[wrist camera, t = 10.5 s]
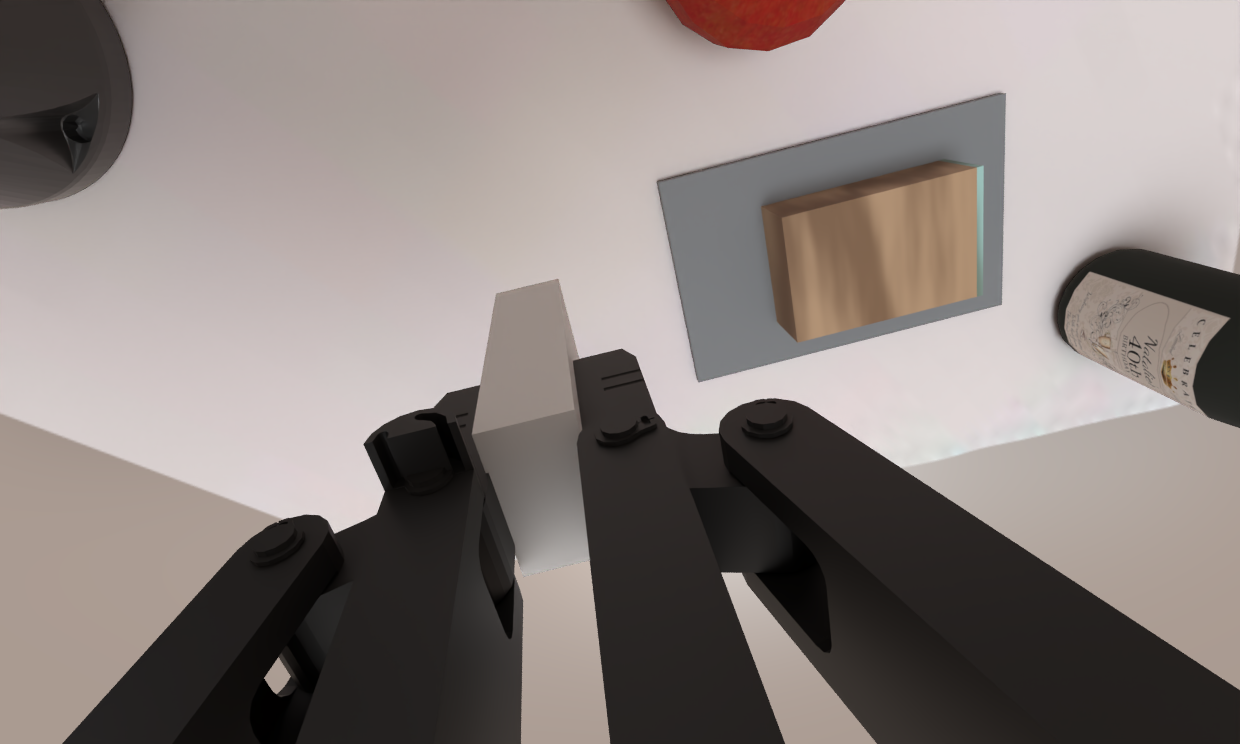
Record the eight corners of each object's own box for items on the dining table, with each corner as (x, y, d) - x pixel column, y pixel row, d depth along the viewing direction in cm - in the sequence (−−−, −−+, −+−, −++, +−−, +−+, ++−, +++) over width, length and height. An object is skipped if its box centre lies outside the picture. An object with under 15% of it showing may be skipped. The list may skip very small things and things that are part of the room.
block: (797, 342, 40) (983, 295, 40) (781, 217, 37) (983, 165, 37) (777, 321, 44) (947, 278, 44) (760, 206, 41) (944, 159, 40)
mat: (696, 378, 46) (698, 382, 45) (657, 181, 40) (658, 182, 39) (996, 302, 46) (1001, 304, 45) (999, 93, 40) (1005, 93, 39)
